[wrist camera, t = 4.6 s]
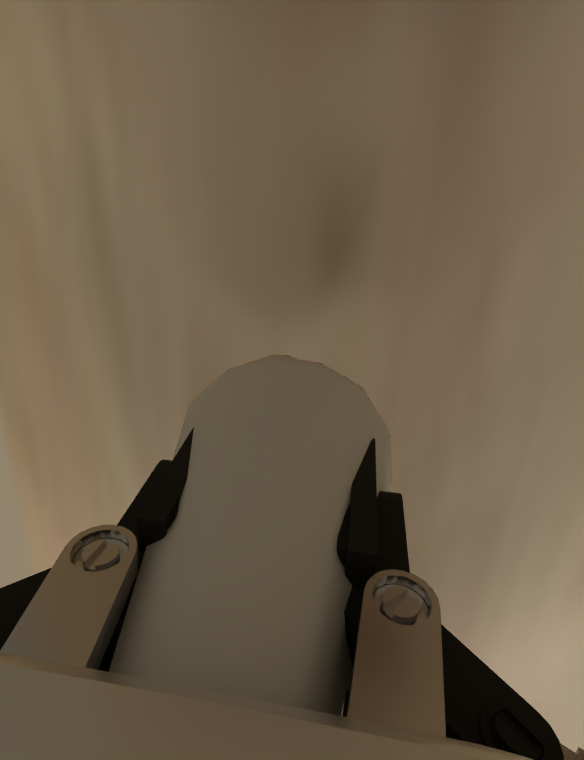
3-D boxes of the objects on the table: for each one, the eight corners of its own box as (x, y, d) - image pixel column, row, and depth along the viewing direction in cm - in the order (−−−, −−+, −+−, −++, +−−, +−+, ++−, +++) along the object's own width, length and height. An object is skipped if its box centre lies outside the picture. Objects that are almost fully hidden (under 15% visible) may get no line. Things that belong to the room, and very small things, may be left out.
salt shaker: (172, 382, 16) (-401, 1067, 4) (325, 292, 14) (82, 1113, 2) (272, 513, 17) (78, 1260, 6) (421, 449, 15) (591, 1386, 4)
